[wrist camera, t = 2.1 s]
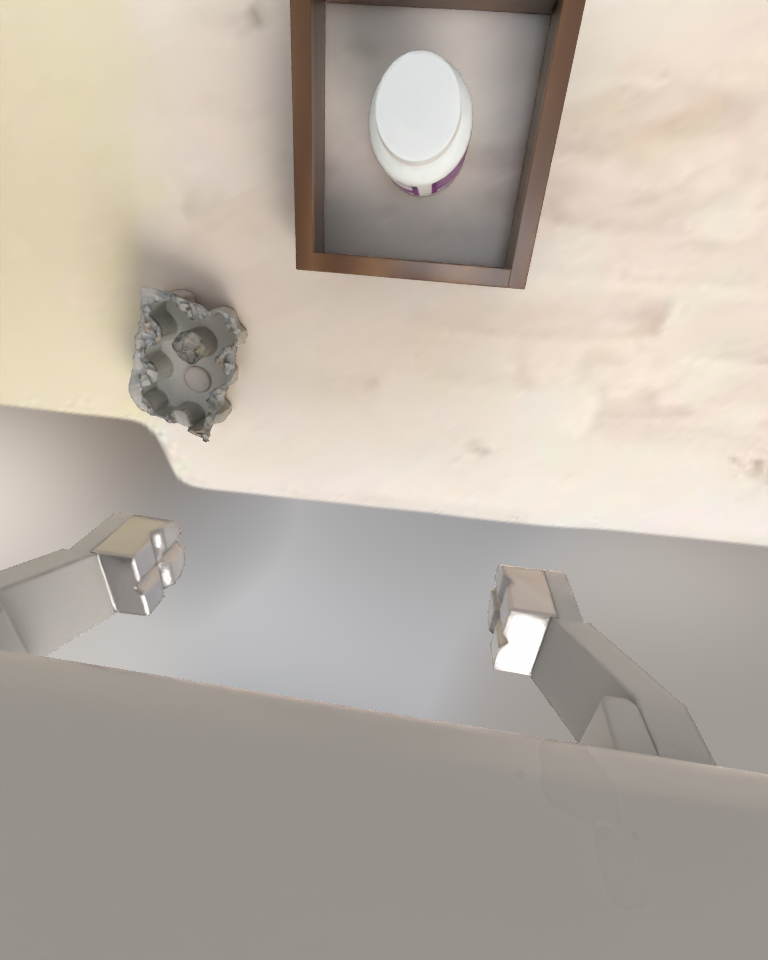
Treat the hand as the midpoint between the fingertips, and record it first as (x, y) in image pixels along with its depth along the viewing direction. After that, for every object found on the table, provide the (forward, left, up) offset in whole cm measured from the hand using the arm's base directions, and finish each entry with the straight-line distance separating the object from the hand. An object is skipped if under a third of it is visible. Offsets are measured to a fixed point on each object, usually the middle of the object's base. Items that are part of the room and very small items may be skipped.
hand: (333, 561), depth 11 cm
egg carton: (-17, 0, -27) cm, 32 cm away
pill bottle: (+2, +12, -27) cm, 29 cm away
